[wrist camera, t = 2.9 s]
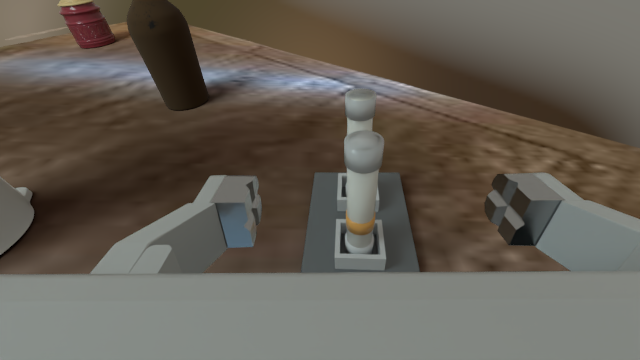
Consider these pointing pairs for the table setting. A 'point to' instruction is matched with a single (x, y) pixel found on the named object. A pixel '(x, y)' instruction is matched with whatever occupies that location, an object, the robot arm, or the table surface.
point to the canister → (86, 23)
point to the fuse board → (330, 229)
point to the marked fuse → (361, 188)
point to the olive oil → (168, 52)
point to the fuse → (359, 110)
